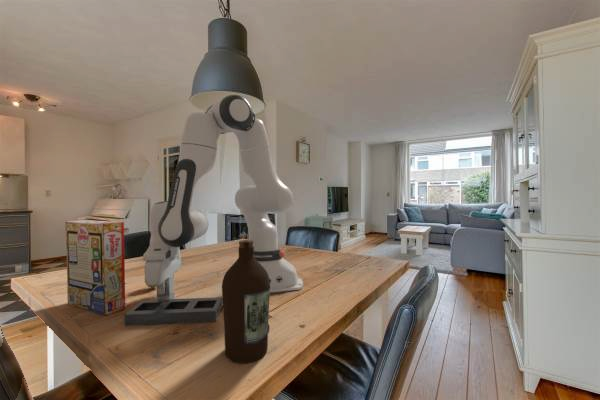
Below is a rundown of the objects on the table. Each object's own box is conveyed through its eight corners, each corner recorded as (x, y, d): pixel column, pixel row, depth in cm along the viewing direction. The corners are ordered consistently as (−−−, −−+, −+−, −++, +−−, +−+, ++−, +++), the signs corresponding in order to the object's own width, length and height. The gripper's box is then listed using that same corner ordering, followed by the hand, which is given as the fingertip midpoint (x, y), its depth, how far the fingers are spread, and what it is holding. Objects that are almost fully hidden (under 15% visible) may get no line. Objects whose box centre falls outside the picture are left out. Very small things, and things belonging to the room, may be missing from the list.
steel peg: (174, 297, 92) (173, 274, 92) (169, 302, 88) (169, 277, 88) (162, 297, 92) (161, 274, 92) (156, 302, 88) (156, 278, 88)
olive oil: (212, 352, 60) (212, 241, 60) (250, 333, 68) (249, 235, 68) (242, 372, 53) (241, 247, 53) (279, 349, 62) (279, 240, 61)
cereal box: (126, 308, 84) (125, 221, 83) (104, 316, 78) (103, 223, 77) (87, 297, 92) (86, 219, 91) (65, 304, 86) (63, 220, 86)
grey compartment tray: (222, 306, 85) (222, 297, 85) (215, 321, 75) (215, 311, 75) (142, 309, 82) (142, 300, 82) (124, 325, 73) (124, 314, 72)
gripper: (167, 243, 100) (168, 280, 100) (140, 256, 79) (140, 303, 80) (185, 243, 100) (185, 280, 101) (162, 256, 80) (162, 302, 80)
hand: (165, 290), depth 90 cm, fingers closed on steel peg, 4 cm apart
